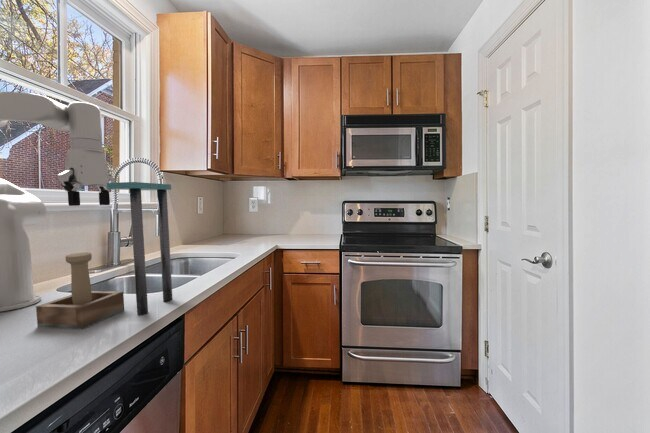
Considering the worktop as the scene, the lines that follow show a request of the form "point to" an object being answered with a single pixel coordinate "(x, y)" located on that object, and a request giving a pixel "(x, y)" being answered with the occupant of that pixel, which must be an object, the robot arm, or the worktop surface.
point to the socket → (79, 311)
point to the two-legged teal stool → (139, 239)
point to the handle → (80, 278)
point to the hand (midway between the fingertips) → (90, 205)
